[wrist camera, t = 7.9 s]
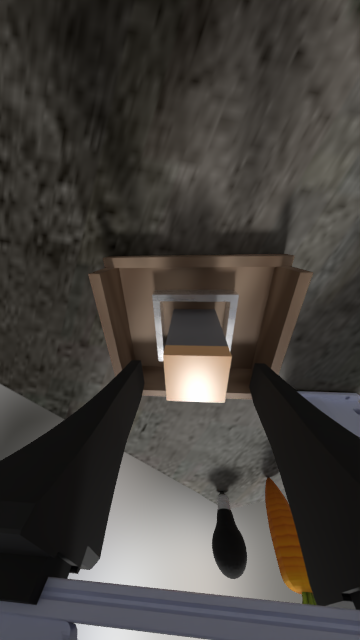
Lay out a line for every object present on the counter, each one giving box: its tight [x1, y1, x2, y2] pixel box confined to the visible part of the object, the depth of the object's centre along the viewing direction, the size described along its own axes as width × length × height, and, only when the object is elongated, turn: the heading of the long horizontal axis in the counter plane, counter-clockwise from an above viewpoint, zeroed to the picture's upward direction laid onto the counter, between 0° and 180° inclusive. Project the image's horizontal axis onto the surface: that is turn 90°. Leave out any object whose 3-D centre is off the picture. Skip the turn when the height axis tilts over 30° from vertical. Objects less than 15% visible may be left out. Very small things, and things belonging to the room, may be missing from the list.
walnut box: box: [88, 254, 313, 399], centre depth 15 cm, size 15×13×4 cm
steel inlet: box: [152, 290, 239, 361], centre depth 16 cm, size 7×7×2 cm
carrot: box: [265, 477, 317, 605], centre depth 24 cm, size 5×5×15 cm
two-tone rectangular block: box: [163, 309, 232, 403], centre depth 13 cm, size 4×4×7 cm
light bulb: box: [212, 492, 247, 579], centre depth 31 cm, size 6×6×10 cm
